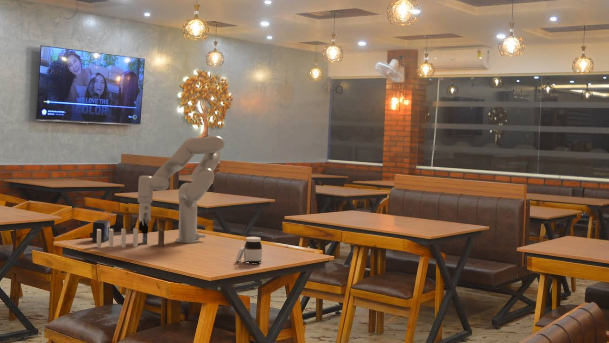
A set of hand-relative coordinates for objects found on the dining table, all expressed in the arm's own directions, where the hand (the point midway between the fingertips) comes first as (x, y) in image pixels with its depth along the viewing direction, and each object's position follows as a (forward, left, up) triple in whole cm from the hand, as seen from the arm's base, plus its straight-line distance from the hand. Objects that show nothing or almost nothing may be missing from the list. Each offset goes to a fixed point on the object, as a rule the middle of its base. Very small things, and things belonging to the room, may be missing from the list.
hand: (143, 231), depth 375 cm
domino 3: (+11, +8, -6) cm, 15 cm away
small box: (+20, -12, -6) cm, 24 cm away
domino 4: (+5, +8, -6) cm, 11 cm away
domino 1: (+23, +8, -6) cm, 25 cm away
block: (-8, +8, -6) cm, 13 cm away
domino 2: (+17, +8, -6) cm, 20 cm away
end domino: (-1, 0, -6) cm, 6 cm away
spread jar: (-39, +62, -6) cm, 73 cm away
